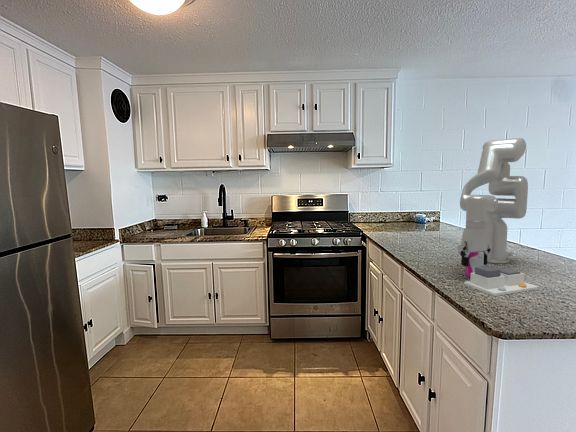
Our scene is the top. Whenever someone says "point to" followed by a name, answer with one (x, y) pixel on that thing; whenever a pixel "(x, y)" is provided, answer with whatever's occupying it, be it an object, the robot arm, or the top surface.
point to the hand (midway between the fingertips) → (474, 264)
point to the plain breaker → (487, 271)
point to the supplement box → (474, 262)
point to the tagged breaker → (509, 271)
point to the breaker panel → (500, 284)
